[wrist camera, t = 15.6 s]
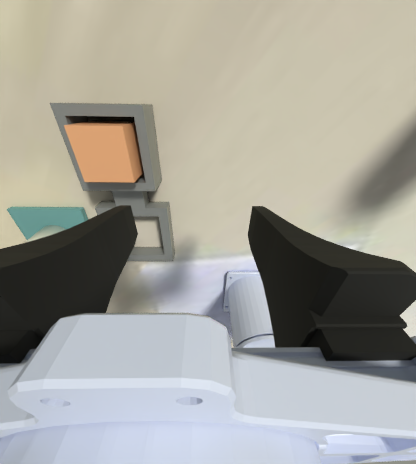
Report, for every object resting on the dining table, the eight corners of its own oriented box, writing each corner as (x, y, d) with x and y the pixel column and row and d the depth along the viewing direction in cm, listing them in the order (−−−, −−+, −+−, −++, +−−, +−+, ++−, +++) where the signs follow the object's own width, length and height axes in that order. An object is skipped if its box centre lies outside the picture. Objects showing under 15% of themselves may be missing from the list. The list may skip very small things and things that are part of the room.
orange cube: (147, 168, 18) (134, 182, 15) (106, 168, 18) (84, 181, 15) (139, 121, 16) (122, 126, 13) (92, 121, 16) (63, 125, 13)
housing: (174, 253, 25) (171, 269, 23) (118, 252, 25) (109, 269, 22) (158, 104, 16) (149, 104, 13) (68, 103, 16) (42, 102, 13)
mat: (104, 259, 26) (102, 262, 25) (45, 259, 25) (42, 262, 25) (83, 207, 21) (80, 210, 21) (11, 206, 21) (6, 209, 20)
